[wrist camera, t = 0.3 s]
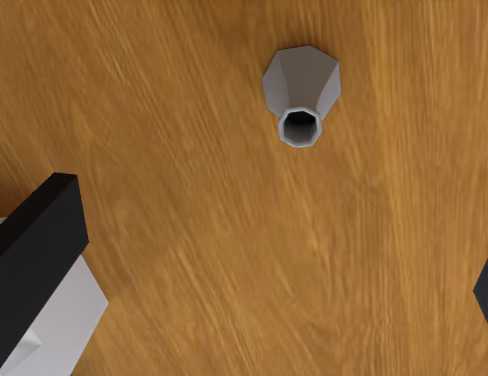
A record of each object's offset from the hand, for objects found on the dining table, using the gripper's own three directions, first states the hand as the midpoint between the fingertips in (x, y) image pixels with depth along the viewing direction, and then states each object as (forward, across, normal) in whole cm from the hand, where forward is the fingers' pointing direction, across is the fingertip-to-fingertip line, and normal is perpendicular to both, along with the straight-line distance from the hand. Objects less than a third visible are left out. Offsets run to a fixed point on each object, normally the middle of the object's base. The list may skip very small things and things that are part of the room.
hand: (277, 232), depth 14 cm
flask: (+28, +1, -4) cm, 28 cm away
